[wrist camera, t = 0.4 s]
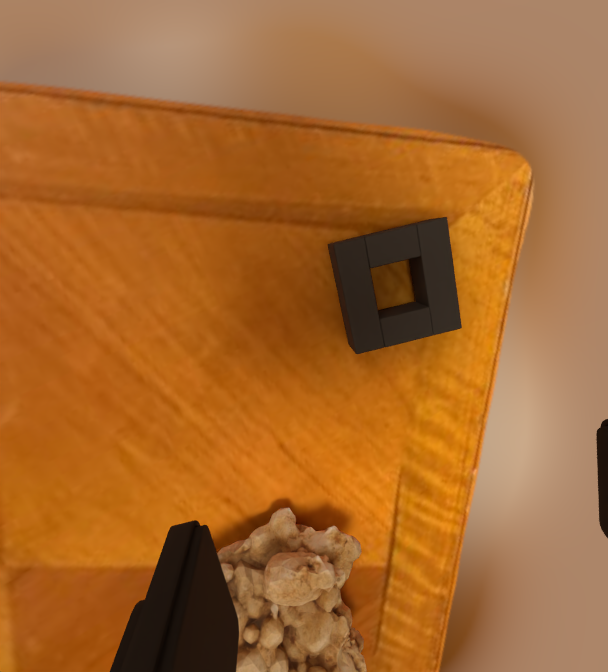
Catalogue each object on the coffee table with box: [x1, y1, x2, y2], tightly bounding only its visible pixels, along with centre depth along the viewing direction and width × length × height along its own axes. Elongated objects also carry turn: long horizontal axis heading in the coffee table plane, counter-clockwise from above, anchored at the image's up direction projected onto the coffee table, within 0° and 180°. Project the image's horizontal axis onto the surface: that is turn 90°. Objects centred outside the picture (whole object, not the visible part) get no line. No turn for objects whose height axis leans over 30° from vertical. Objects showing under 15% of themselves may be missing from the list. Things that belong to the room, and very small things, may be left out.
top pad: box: [328, 217, 462, 354], centre depth 25 cm, size 7×7×2 cm
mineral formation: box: [217, 508, 367, 672], centre depth 28 cm, size 8×13×15 cm
